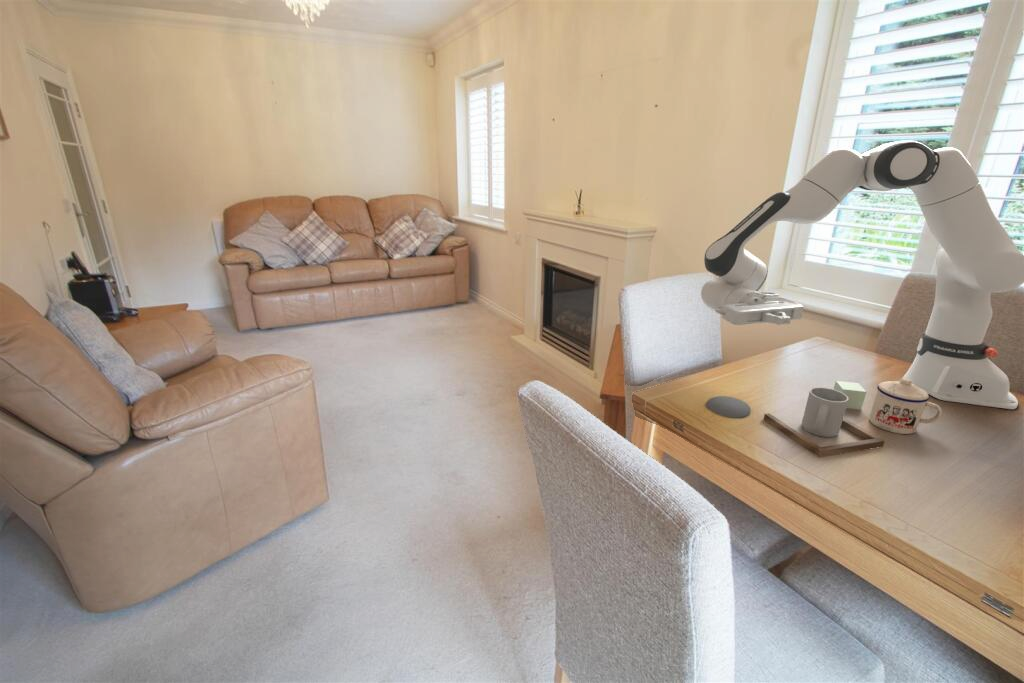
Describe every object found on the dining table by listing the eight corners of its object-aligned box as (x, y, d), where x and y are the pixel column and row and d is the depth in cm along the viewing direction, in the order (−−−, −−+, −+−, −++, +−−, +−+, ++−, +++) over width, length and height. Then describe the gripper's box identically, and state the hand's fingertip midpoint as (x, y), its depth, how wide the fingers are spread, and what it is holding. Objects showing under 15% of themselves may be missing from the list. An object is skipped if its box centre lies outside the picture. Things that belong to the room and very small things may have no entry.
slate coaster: (714, 394, 121) (714, 392, 121) (755, 405, 115) (755, 403, 115) (700, 410, 114) (700, 408, 114) (743, 423, 108) (743, 421, 108)
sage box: (853, 400, 118) (858, 383, 116) (861, 410, 113) (866, 391, 112) (831, 398, 119) (835, 380, 117) (837, 407, 115) (842, 389, 113)
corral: (763, 419, 109) (764, 413, 109) (821, 411, 113) (822, 406, 112) (818, 457, 95) (820, 451, 94) (882, 446, 98) (884, 440, 98)
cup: (840, 428, 105) (850, 393, 102) (834, 447, 98) (845, 410, 95) (804, 418, 110) (812, 384, 107) (796, 435, 102) (804, 400, 99)
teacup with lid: (867, 427, 106) (881, 381, 101) (867, 411, 112) (880, 367, 108) (936, 444, 99) (954, 395, 95) (931, 426, 106) (948, 380, 102)
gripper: (713, 297, 120) (750, 312, 107) (780, 292, 124) (823, 305, 112) (710, 320, 122) (745, 337, 110) (775, 314, 127) (817, 330, 114)
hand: (785, 321), depth 111 cm, fingers closed
